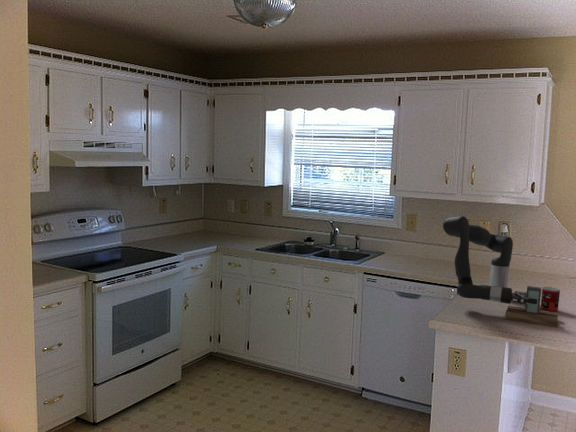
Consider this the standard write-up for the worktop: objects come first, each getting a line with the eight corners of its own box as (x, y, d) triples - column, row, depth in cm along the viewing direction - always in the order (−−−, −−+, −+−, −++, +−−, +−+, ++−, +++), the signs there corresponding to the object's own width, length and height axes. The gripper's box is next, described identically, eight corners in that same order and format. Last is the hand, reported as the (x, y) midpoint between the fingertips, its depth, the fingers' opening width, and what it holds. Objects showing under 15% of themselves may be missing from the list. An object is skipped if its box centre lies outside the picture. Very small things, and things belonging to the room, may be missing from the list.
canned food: (537, 307, 292) (540, 286, 290) (553, 308, 291) (555, 287, 290) (544, 311, 284) (546, 290, 283) (560, 312, 284) (562, 290, 282)
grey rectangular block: (524, 314, 271) (527, 285, 270) (538, 316, 269) (541, 287, 267) (524, 316, 268) (527, 287, 267) (538, 318, 266) (541, 288, 264)
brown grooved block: (507, 312, 279) (508, 305, 279) (557, 320, 270) (558, 312, 269) (505, 319, 268) (505, 311, 267) (556, 327, 258) (557, 319, 258)
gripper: (499, 289, 267) (537, 295, 260) (502, 284, 280) (539, 288, 273) (498, 305, 268) (536, 311, 261) (501, 299, 281) (537, 304, 274)
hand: (537, 299), depth 267 cm, fingers open, 8 cm apart
